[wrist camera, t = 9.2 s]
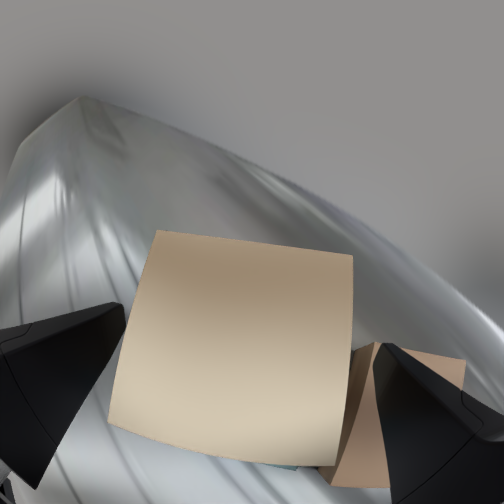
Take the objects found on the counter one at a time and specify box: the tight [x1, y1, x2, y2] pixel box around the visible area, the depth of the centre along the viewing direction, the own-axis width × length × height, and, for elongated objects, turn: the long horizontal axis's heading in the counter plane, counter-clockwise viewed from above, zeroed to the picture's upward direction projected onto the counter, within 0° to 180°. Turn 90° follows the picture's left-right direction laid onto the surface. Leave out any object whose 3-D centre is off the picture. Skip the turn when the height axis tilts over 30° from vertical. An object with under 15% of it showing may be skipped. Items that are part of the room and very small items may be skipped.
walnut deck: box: [317, 342, 466, 488], centre depth 11 cm, size 8×7×3 cm
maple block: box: [107, 230, 353, 466], centre depth 9 cm, size 4×4×10 cm
